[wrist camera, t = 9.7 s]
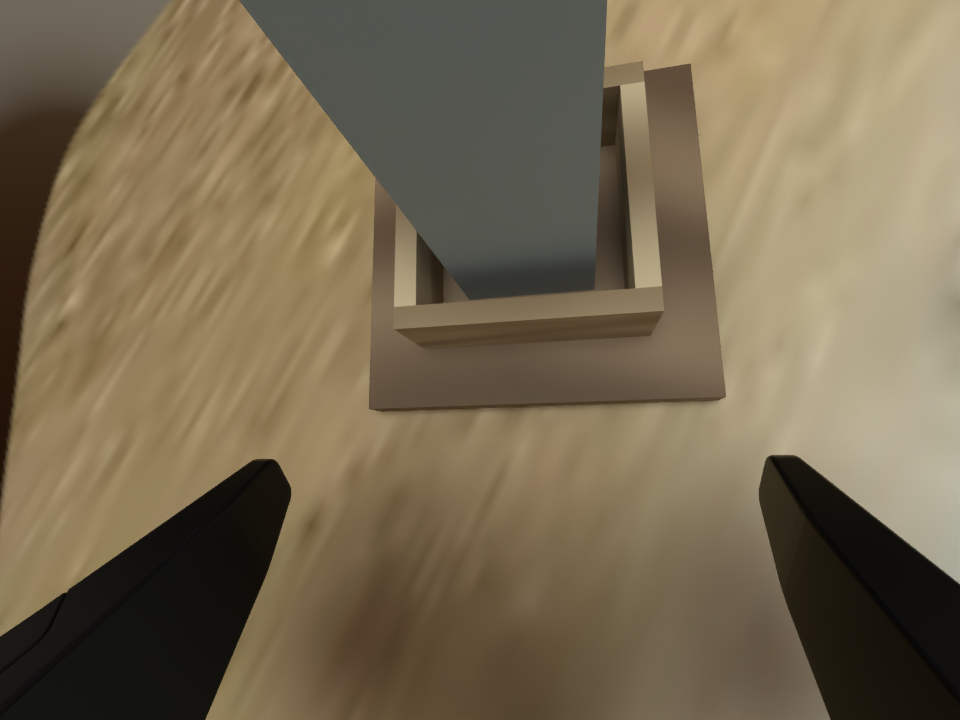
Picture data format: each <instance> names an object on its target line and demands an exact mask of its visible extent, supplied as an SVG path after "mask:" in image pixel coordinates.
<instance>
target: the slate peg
mask: <svg viewBox="0 0 960 720" xmlns="http://www.w3.org/2000/svg"><path fill="white" fill-rule="evenodd" d="M239 1H240V2H241V3H242V5H243V6H244V7H245V8H246V10H247V11H248V12H249V14H250V15H251V16H252V18H253V19H254V20H255V21H256V23H257V24H258V25H259V27H260V28H261V29H262V31H263V32H264V33H265V34H266V36H267V37H268V38H269V40H270V41H271V42H272V44H273V45H274V46H275V47H276V49H277V50H278V51H279V53H280V54H281V55H282V57H283V58H284V59H285V60H286V62H287V63H288V64H289V66H290V67H291V68H292V70H293V71H294V72H295V73H296V75H297V76H298V77H299V79H300V80H301V81H302V83H303V84H304V85H305V86H306V88H307V89H308V90H309V92H310V93H311V94H312V96H313V97H314V98H315V99H316V101H317V102H318V103H319V105H320V106H321V107H322V109H323V110H324V111H325V112H326V114H327V115H328V116H329V118H330V119H331V120H332V122H333V123H334V124H335V125H336V127H337V128H338V129H339V131H340V132H341V133H342V135H343V136H344V137H345V138H346V140H347V141H348V142H349V144H350V145H351V146H352V148H353V149H354V150H355V151H356V153H357V154H358V155H359V157H360V158H361V159H362V161H363V162H364V163H365V164H366V166H367V167H368V168H369V170H370V171H371V172H372V174H373V175H374V176H375V177H376V179H377V180H378V181H379V183H380V184H381V185H382V187H383V188H384V189H385V190H386V192H387V193H388V194H389V196H390V197H391V198H392V200H393V201H394V202H395V203H396V205H397V206H398V207H399V209H400V210H401V211H402V213H403V214H404V215H405V216H406V218H407V219H408V220H409V222H410V223H411V224H412V226H413V227H414V228H415V229H416V231H417V232H418V233H419V235H420V236H421V237H422V239H423V240H424V241H425V242H426V244H427V245H428V246H429V248H430V249H431V250H432V252H433V253H434V254H435V255H436V257H437V258H438V259H439V261H440V262H441V263H442V265H443V266H444V267H445V268H446V270H447V271H448V272H449V274H450V275H451V276H452V278H453V279H454V280H455V281H456V283H457V284H458V285H459V287H460V288H461V289H462V291H463V292H464V293H465V294H466V296H467V297H468V298H469V300H473V299H485V298H497V297H509V296H521V295H533V294H545V293H557V292H569V291H581V290H593V289H594V285H595V263H596V240H597V218H598V195H599V172H600V150H601V127H602V104H603V82H604V59H605V37H606V14H607V0H239Z"/></svg>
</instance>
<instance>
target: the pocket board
mask: <svg viewBox="0 0 960 720" xmlns="http://www.w3.org/2000/svg"><path fill="white" fill-rule="evenodd" d="M725 397H726V392H725V383H724V374H723V364H722V355H721V345H720V336H719V327H718V317H717V308H716V299H715V289H714V280H713V270H712V261H711V252H710V242H709V233H708V223H707V214H706V205H705V195H704V186H703V176H702V167H701V158H700V148H699V139H698V129H697V120H696V111H695V101H694V92H693V82H692V73H691V64H685V65H679V66H673V67H667V68H661V69H655V70H649V71H644V70H643V61H640V62H634V63H628V64H622V65H616V66H610V67H604V82H603V104H602V127H601V150H600V172H599V195H598V218H597V240H596V263H595V285H594V289H593V290H581V291H569V292H557V293H545V294H533V295H521V296H509V297H497V298H485V299H473V300H469V298H468V297H467V296H466V294H465V293H464V292H463V291H462V289H461V288H460V287H459V285H458V284H457V283H456V281H455V280H454V279H453V278H452V276H451V275H450V274H449V272H448V271H447V270H446V268H445V267H444V266H443V265H442V263H441V262H440V261H439V259H438V258H437V257H436V255H435V254H434V253H433V252H432V250H431V249H430V248H429V246H428V245H427V244H426V242H425V241H424V240H423V239H422V237H421V236H420V235H419V233H418V232H417V231H416V229H415V228H414V227H413V226H412V224H411V223H410V222H409V220H408V219H407V218H406V216H405V215H404V214H403V213H402V211H401V210H400V209H399V207H398V206H397V205H396V203H395V202H394V201H393V200H392V198H391V197H390V196H389V194H388V193H387V192H386V190H385V189H384V188H383V187H382V185H381V184H380V183H379V181H378V180H377V179H376V181H375V216H374V250H373V285H372V320H371V355H370V390H369V409H371V410H376V411H402V410H433V409H464V408H494V407H525V406H555V405H586V404H616V403H647V402H678V401H708V400H720V399H722V398H725Z"/></svg>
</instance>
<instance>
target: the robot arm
mask: <svg viewBox="0 0 960 720" xmlns="http://www.w3.org/2000/svg"><path fill="white" fill-rule="evenodd" d="M290 499H291V487H290V484H289V483H288V481H287V479H286V477H285V475H284V473H283V471H282V469H281V467H280V466H279V464H278V462H277V461H275V460H273V459H256V460H253V461H251V462H250V463H248V464H247V465H245V466H244V467H243V468H241V469H240V470H238V471H237V472H235V473H234V474H233V475H231V476H230V477H228V478H227V479H225V480H224V481H223V482H221V483H220V484H218V485H217V486H215V487H214V488H213V489H211V490H210V491H208V492H207V493H205V494H204V495H203V496H201V497H200V498H198V499H197V500H196V501H194V502H193V503H191V504H190V505H188V506H187V507H186V508H184V509H183V510H181V511H180V512H178V513H177V514H176V515H174V516H173V517H171V518H170V519H168V520H167V521H166V522H164V523H163V524H161V525H160V526H158V527H157V528H156V529H154V530H153V531H151V532H150V533H148V534H147V535H146V536H144V537H143V538H141V539H140V540H139V541H137V542H136V543H134V544H133V545H131V546H130V547H129V548H127V549H126V550H124V551H123V552H121V553H120V554H119V555H117V556H116V557H114V558H113V559H111V560H110V561H109V562H107V563H106V564H104V565H103V566H101V567H100V568H99V569H97V570H96V571H94V572H93V573H91V574H90V575H89V576H87V577H86V578H84V579H83V580H82V581H80V582H79V583H77V584H76V585H74V586H73V587H72V588H70V589H69V590H68V592H67V593H63V594H61V595H60V596H59V597H57V598H56V599H54V600H53V601H52V602H50V603H49V604H47V605H46V606H44V607H43V608H42V609H40V610H39V611H37V612H36V613H34V614H33V615H31V616H30V617H28V618H27V619H26V620H24V621H23V622H21V623H20V624H18V625H17V626H15V627H14V628H12V629H11V630H9V631H8V632H7V633H5V634H4V635H2V636H0V720H205V719H206V717H207V714H208V712H209V710H210V707H211V705H212V703H213V700H214V698H215V695H216V693H217V691H218V688H219V686H220V684H221V681H222V679H223V676H224V674H225V672H226V669H227V667H228V665H229V662H230V660H231V657H232V655H233V653H234V650H235V648H236V646H237V643H238V641H239V638H240V636H241V634H242V631H243V629H244V627H245V624H246V622H247V619H248V617H249V615H250V612H251V610H252V608H253V605H254V603H255V600H256V598H257V596H258V593H259V591H260V589H261V586H262V584H263V581H264V579H265V576H266V574H267V571H268V569H269V566H270V563H271V560H272V557H273V554H274V550H275V547H276V544H277V541H278V538H279V534H280V531H281V528H282V525H283V522H284V518H285V515H286V512H287V509H288V505H289V502H290ZM759 501H760V506H761V510H762V514H763V518H764V522H765V526H766V529H767V533H768V537H769V541H770V545H771V549H772V553H773V557H774V561H775V565H776V569H777V573H778V577H779V581H780V584H781V588H782V591H783V594H784V597H785V600H786V603H787V606H788V609H789V611H790V614H791V617H792V619H793V622H794V625H795V627H796V630H797V632H798V635H799V638H800V640H801V643H802V646H803V648H804V651H805V653H806V656H807V659H808V661H809V664H810V667H811V669H812V672H813V674H814V677H815V680H816V682H817V685H818V688H819V690H820V693H821V696H822V698H823V701H824V703H825V706H826V709H827V711H828V714H829V717H830V719H831V720H960V584H959V583H958V582H957V581H955V580H954V579H953V578H952V577H950V576H949V575H948V574H946V573H945V572H944V571H943V570H941V569H940V568H939V567H938V566H936V565H935V564H934V563H932V562H931V561H930V560H929V559H927V558H926V557H925V556H924V555H922V554H921V553H920V552H919V551H917V550H916V549H915V548H913V547H912V546H911V545H910V544H908V543H907V542H906V541H905V540H903V539H902V538H901V537H900V536H898V535H897V534H896V533H894V532H893V531H892V530H891V529H889V528H888V527H887V526H886V525H884V524H883V523H882V522H881V521H879V520H878V519H877V518H875V517H874V516H873V515H872V514H870V513H869V512H868V511H867V510H865V509H864V508H863V507H861V506H860V505H859V504H858V503H856V502H855V501H854V500H853V499H851V498H850V497H849V496H848V495H846V494H845V493H844V492H842V491H841V490H840V489H839V488H837V487H836V486H835V485H834V484H832V483H831V482H830V481H829V480H827V479H826V478H825V477H823V476H822V475H821V474H820V473H818V472H817V471H816V470H815V469H813V468H812V467H811V466H810V465H808V464H807V463H806V462H804V461H803V460H802V459H801V458H799V457H797V456H794V455H771V456H769V457H767V459H766V461H765V465H764V469H763V474H762V478H761V482H760V487H759Z"/></svg>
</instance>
